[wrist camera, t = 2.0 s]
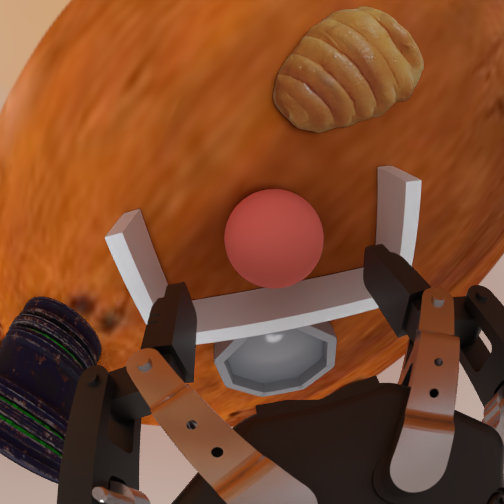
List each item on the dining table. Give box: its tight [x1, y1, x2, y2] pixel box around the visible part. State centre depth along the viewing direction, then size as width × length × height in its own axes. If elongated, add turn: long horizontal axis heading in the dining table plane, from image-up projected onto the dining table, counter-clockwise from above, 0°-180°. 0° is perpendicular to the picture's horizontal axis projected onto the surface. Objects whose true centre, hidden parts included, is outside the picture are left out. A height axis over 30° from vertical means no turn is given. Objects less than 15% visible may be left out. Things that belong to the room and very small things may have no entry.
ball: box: [224, 189, 324, 289], centre depth 15 cm, size 6×6×6 cm
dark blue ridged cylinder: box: [0, 297, 101, 484], centre depth 15 cm, size 10×10×15 cm
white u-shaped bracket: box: [105, 166, 421, 345], centre depth 17 cm, size 18×9×4 cm, turn 100°
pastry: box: [273, 6, 424, 133], centre depth 12 cm, size 9×7×4 cm
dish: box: [214, 321, 337, 397], centre depth 23 cm, size 10×10×2 cm
